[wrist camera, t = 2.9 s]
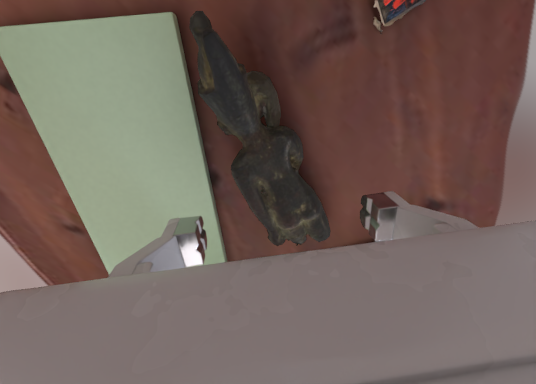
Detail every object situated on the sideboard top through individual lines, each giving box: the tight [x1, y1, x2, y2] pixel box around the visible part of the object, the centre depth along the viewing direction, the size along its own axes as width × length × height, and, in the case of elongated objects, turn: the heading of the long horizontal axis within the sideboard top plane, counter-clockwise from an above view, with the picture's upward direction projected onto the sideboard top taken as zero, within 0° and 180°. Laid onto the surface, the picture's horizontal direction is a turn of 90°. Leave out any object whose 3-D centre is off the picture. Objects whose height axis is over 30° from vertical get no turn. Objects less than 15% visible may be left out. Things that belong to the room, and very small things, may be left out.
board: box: [0, 12, 227, 275], centre depth 21 cm, size 22×11×1 cm, turn 5°
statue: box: [189, 11, 331, 246], centre depth 19 cm, size 6×6×20 cm
